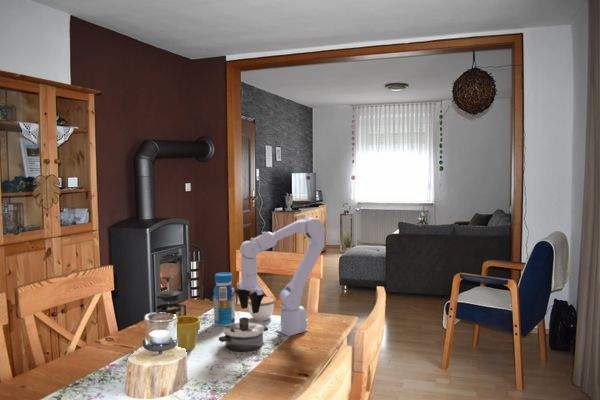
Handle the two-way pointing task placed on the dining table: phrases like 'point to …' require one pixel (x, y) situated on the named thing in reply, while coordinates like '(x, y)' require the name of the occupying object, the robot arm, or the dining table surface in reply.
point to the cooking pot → (243, 342)
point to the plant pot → (187, 331)
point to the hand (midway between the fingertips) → (249, 310)
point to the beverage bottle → (224, 300)
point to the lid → (243, 329)
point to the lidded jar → (263, 309)
